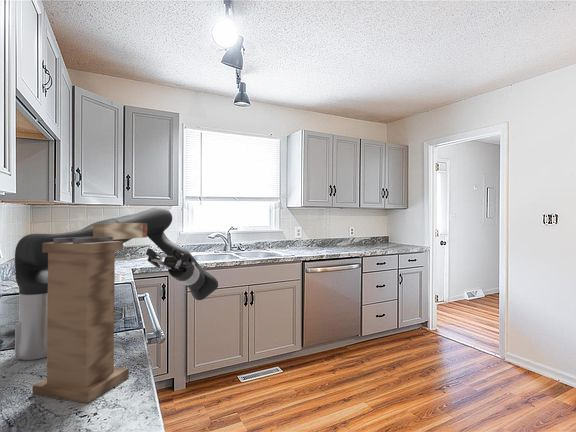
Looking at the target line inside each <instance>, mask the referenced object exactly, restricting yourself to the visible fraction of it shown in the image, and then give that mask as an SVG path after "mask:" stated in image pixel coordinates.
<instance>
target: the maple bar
mask: <svg viewBox="0 0 576 432" xmlns="http://www.w3.org/2000/svg"><path fill="white" fill-rule="evenodd" d="M92 224H93V238H96V237H113V240H116V239H130V238H132V239H141V238H148V237H147V223H95V222H93V223H92Z"/></svg>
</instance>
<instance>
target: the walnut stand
mask: <svg viewBox="0 0 576 432" xmlns="http://www.w3.org/2000/svg"><path fill="white" fill-rule="evenodd" d="M123 250H124V243H123V241H113V237H96V238H93V237H74V238H55V239H53V242H51V243H42V252H46V253H48V311H47V357H46V379H43V380H40V381H39V382H37V383H34V384H32V396H36V397H44V398H50V399H56V400H57V399H58V400H64V401H71V402H77V403H83V404H89V403H91V402H92V401H93V400H95V399H97V398H98V397H100V396H101V395H103V394H104V393H106V392H107V391H109V390H111V389H113V388H114V387H115V386H118V385H119V384H121V383H122V382H123V381H125V380H126V379H127V378H129V377H130V375H129V374H130V373H129V372H130V371H129V370H130V369H129V368H128V367H122V366H121V367H118V366H115V282H116V281H115V280H116V279H115V277H116V276H115V274H116V273H115V271H116V270H115V269H116V268H115V267H116V263H115V260H116V254H115V253H116V251H123Z"/></svg>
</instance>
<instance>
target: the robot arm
mask: <svg viewBox="0 0 576 432" xmlns="http://www.w3.org/2000/svg"><path fill="white" fill-rule="evenodd" d="M172 221H173V215H172V212H171V211H170V210H168V209H166V208H164V207H161V206H156V207H152V208H149V209H145V210H143V211H140V212H137V213H132V214H127V215H123V216H118V217H113V218H109V219H104V220H98V221H95V222H94V223H147V237H146V238H148V239H149V240H150V241H151V242H152V243H153V244H155V246H157V248H159V249H160V250H161V251H162V252H163V253H157V252H156V251H154V249H152V248H151V247H150V248H149V247H148V248H147V249H146V252H145V255H146V256H147V262H148V263H150V264H151V265H153V266H154V267H156V268H161V267H164V268H165V269H167V271H168V273H169V275H170V276H171V277H172V278H174V279H175V280H177V281H178V282H179V283H180V284H182V285H184V286H185V287H187V288H188V290H189V291H190V293H191V295H192V297H193V298H194V299H195V300H196V301H203V300H204V299H206V298H207V297H208V296H210V295H211V294H212V293H214V292H215V291H216V290H218V288H219V281H218V280H217V278H216V277H215V276H214V275H212V274H211V273H209V272H208V271H207V270H205V269H204V268H203V267H202V266H201V265H200V264H199V262H198V261H197V260H196V258H195V256H194V255H192V254H191V252H189V250H187V249H186V248H184V247H182V246H179V245H178V244H176V243H174V242H172V241H171V240H170V238H168V237H167V236H166V233H165V231H166V230H168V228H169V227H170V226H171V224H172ZM74 237H93V223H91V224H89V225H87V226H85V227H83V228H82V229H79V230H73V231H68V232H61V233H30V234H26V235H25V236H23V237H21V238H20V240H18V242H17V244H16V247H15V251H14V266H15V267H14V268H15V269H14V271H15V281H16V282H15V283H16V284H17V286H18V321H17V322H16V323H15V324H14V325H15V326H14V360H23V361H33V360H39V359H44V358H47V311H48V253H46V252H42V243H51V242H53V239H55V238H74ZM132 239H133V238H130V239H116V240H113V241H123V244H124V243H127V242H129V241H131V240H132ZM163 259H164V260H163Z"/></svg>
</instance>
